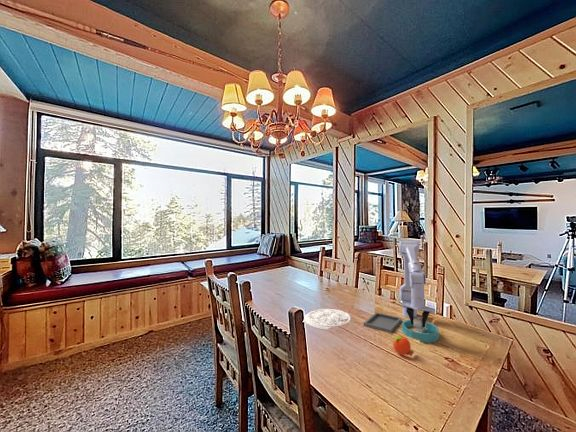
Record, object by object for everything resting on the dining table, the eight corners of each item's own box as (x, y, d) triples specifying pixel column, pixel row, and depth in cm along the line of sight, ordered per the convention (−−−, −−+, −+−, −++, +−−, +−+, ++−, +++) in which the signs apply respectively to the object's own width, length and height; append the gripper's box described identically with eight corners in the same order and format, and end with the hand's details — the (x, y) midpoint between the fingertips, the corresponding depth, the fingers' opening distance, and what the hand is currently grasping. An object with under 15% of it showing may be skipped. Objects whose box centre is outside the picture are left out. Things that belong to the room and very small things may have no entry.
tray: (376, 316, 149) (376, 312, 149) (401, 322, 140) (401, 318, 140) (363, 327, 135) (363, 322, 135) (391, 335, 126) (390, 330, 126)
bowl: (407, 324, 138) (406, 317, 138) (441, 332, 128) (441, 324, 127) (397, 336, 125) (397, 327, 125) (435, 346, 115) (435, 337, 115)
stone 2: (417, 328, 132) (417, 320, 132) (426, 330, 129) (426, 322, 129) (415, 331, 128) (415, 323, 128) (425, 333, 126) (425, 325, 125)
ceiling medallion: (355, 332, 131) (355, 326, 131) (300, 328, 137) (300, 322, 137) (352, 311, 158) (352, 306, 158) (307, 309, 164) (307, 304, 164)
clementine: (398, 359, 106) (398, 342, 106) (387, 350, 112) (387, 334, 112) (414, 355, 108) (414, 339, 108) (402, 347, 115) (402, 331, 115)
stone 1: (414, 323, 127) (414, 315, 127) (424, 326, 124) (424, 318, 124) (412, 327, 124) (411, 318, 124) (422, 329, 121) (422, 321, 121)
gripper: (399, 296, 125) (399, 324, 125) (433, 302, 116) (433, 332, 116) (403, 292, 131) (404, 319, 131) (436, 298, 122) (436, 326, 122)
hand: (418, 325), depth 124 cm, fingers closed on stone 1, 4 cm apart
